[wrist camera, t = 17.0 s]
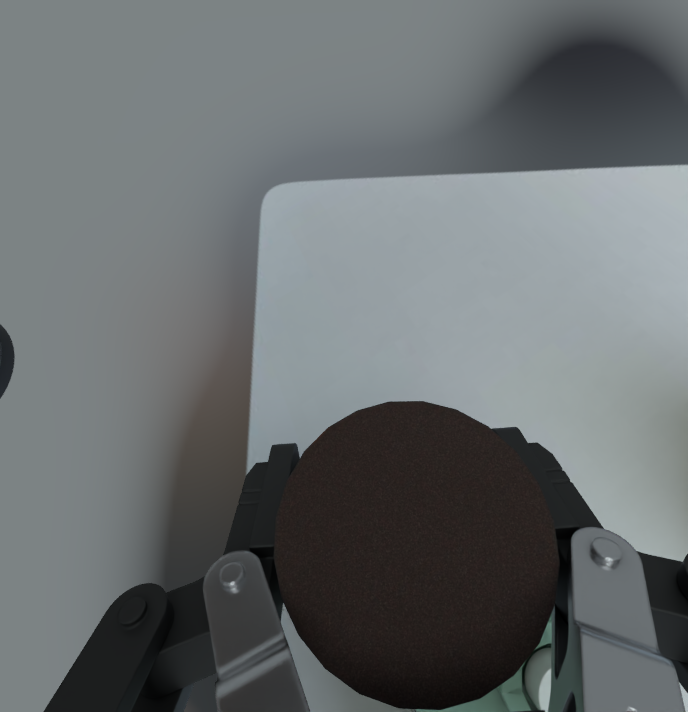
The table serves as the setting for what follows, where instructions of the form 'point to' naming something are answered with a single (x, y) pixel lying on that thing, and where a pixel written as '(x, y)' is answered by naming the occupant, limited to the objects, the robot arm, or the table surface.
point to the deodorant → (416, 555)
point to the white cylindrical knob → (539, 678)
